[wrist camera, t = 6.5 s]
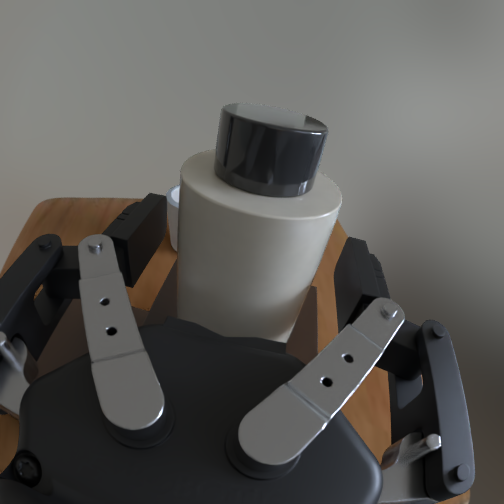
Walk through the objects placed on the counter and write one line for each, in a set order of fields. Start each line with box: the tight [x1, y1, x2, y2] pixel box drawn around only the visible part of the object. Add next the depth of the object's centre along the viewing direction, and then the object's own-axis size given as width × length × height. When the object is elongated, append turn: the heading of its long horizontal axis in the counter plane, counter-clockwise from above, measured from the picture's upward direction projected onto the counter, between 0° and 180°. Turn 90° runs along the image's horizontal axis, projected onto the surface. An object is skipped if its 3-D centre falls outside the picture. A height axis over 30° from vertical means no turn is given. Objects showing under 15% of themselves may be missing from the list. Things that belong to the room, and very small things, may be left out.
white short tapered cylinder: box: [166, 184, 180, 251], centre depth 37 cm, size 7×7×7 cm
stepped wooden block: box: [11, 259, 318, 420], centre depth 18 cm, size 22×14×10 cm, turn 82°
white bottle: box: [177, 103, 342, 343], centre depth 12 cm, size 5×5×12 cm
